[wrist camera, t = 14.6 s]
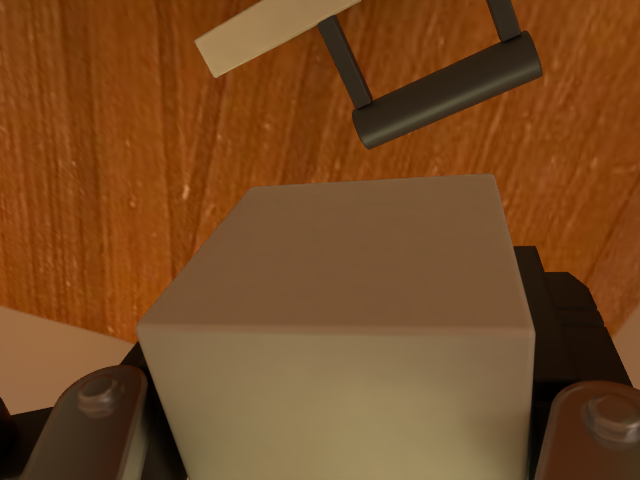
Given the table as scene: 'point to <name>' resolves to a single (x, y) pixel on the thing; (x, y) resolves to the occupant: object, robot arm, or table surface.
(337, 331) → the block
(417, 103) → the drawer
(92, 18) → the table surface
